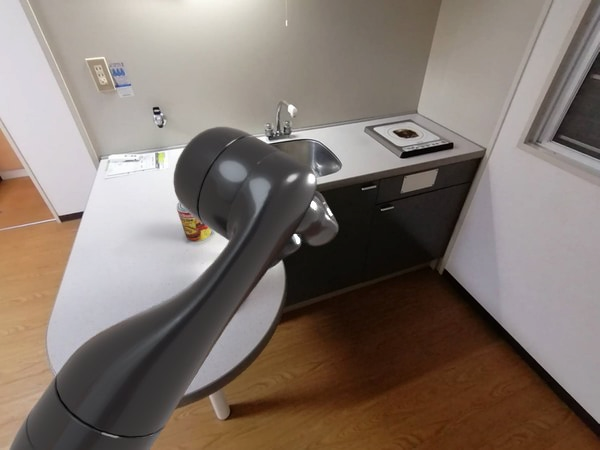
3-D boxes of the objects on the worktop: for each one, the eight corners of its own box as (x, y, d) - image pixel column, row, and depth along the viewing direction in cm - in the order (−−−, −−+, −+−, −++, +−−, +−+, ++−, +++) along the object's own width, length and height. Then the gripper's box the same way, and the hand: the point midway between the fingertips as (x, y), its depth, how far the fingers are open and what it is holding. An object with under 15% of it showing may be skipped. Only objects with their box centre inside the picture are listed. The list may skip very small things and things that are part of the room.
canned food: (181, 237, 98) (170, 207, 91) (197, 223, 104) (189, 194, 96) (199, 245, 96) (190, 215, 88) (216, 230, 101) (208, 200, 93)
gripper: (256, 223, 71) (217, 253, 80) (236, 269, 60) (194, 298, 70) (279, 242, 74) (239, 269, 83) (265, 289, 63) (221, 314, 72)
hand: (219, 282), depth 76 cm, fingers closed on beverage can, 6 cm apart
